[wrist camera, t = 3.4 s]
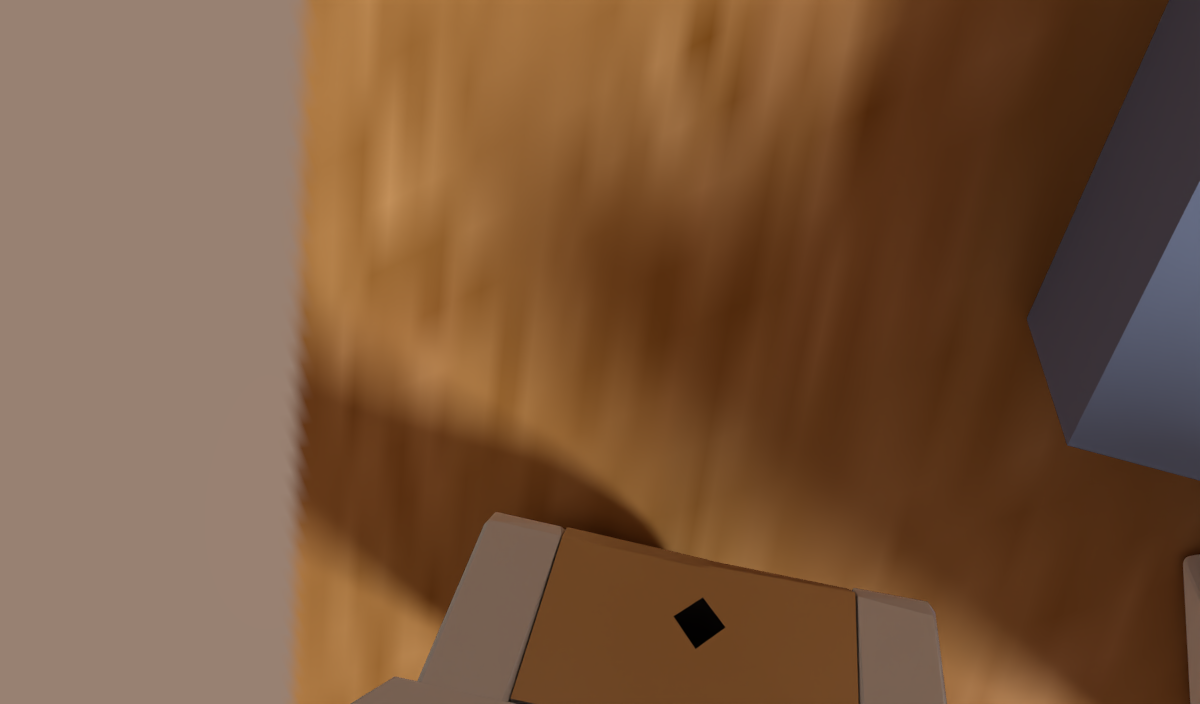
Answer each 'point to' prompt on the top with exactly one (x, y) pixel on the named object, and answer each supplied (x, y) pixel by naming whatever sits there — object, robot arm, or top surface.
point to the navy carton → (1135, 273)
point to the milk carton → (1193, 623)
